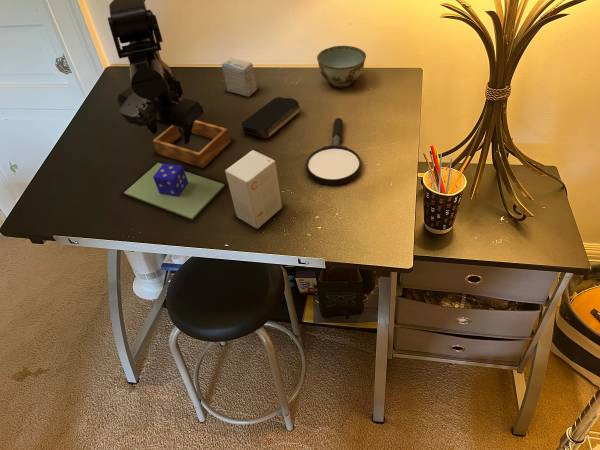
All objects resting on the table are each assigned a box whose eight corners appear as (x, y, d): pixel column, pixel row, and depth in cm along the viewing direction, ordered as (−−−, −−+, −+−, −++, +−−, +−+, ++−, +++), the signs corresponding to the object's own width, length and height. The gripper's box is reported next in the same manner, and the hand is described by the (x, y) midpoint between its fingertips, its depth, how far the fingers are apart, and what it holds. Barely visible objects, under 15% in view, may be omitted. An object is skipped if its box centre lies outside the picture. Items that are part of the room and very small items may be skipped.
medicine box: (257, 90, 134) (252, 62, 128) (248, 97, 132) (243, 69, 126) (236, 84, 138) (230, 57, 131) (226, 91, 135) (221, 64, 129)
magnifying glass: (362, 125, 118) (363, 117, 117) (359, 187, 102) (359, 179, 100) (314, 124, 120) (314, 117, 118) (304, 185, 104) (303, 178, 102)
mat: (124, 194, 106) (123, 192, 106) (158, 164, 113) (158, 162, 113) (192, 220, 99) (191, 218, 98) (224, 186, 106) (224, 184, 105)
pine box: (157, 153, 116) (152, 140, 113) (186, 129, 123) (182, 116, 120) (203, 168, 111) (199, 155, 108) (230, 141, 118) (227, 128, 115)
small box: (261, 196, 102) (252, 148, 93) (282, 207, 99) (276, 159, 90) (235, 217, 98) (223, 170, 89) (257, 230, 95) (247, 182, 86)
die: (188, 182, 107) (183, 165, 103) (178, 196, 103) (172, 180, 100) (169, 179, 108) (163, 162, 104) (159, 193, 105) (152, 176, 101)
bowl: (313, 93, 131) (312, 66, 125) (322, 70, 140) (321, 44, 134) (361, 95, 128) (362, 68, 122) (367, 72, 137) (368, 45, 131)
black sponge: (265, 144, 116) (263, 131, 113) (240, 134, 119) (237, 122, 117) (303, 112, 124) (302, 100, 122) (278, 104, 128) (277, 92, 126)
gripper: (85, 83, 89) (114, 148, 101) (157, 104, 82) (180, 171, 94) (125, 57, 96) (148, 121, 107) (196, 74, 89) (212, 140, 100)
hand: (170, 138), depth 102 cm, fingers open, 9 cm apart
